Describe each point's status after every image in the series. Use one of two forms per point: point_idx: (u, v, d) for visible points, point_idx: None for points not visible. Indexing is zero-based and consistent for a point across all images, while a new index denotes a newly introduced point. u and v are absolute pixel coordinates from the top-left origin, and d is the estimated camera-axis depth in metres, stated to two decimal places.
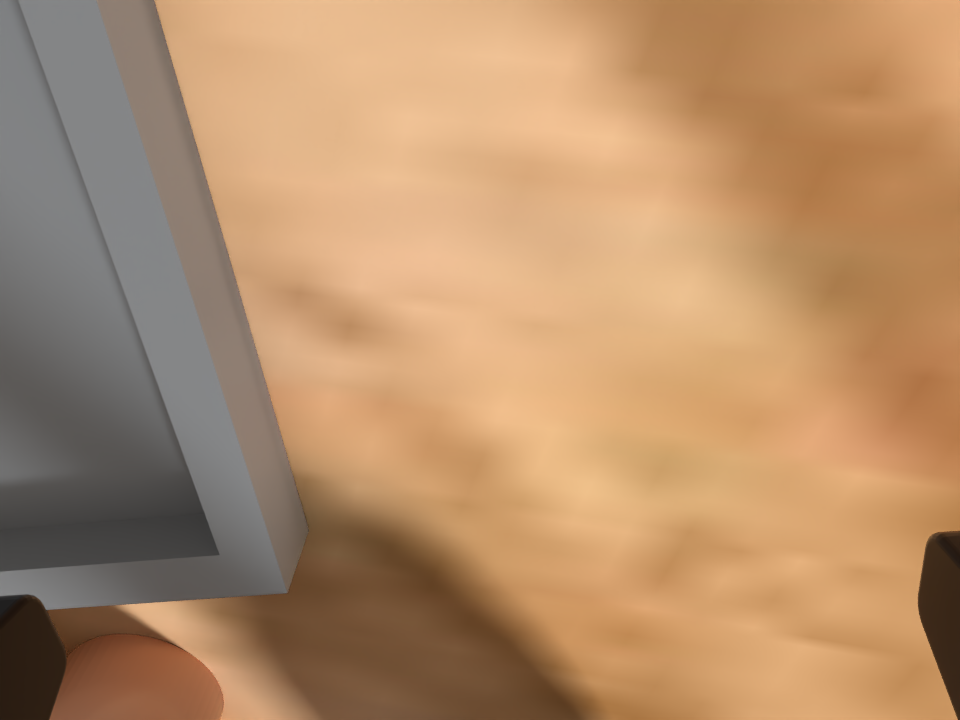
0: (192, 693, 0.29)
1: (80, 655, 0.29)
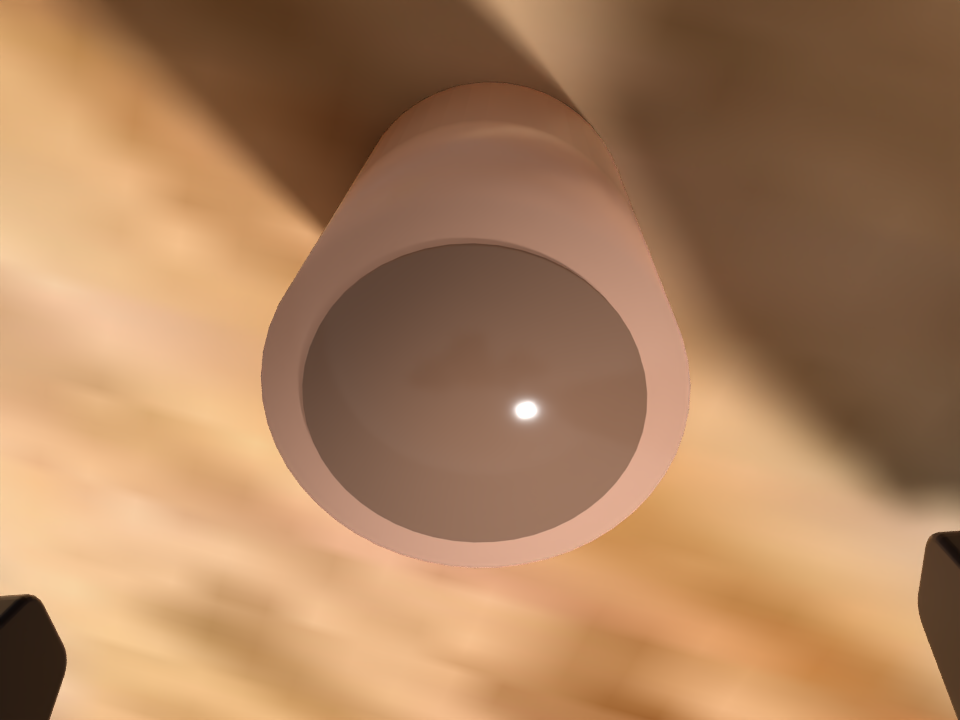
0: (615, 167, 0.17)
1: (419, 106, 0.17)
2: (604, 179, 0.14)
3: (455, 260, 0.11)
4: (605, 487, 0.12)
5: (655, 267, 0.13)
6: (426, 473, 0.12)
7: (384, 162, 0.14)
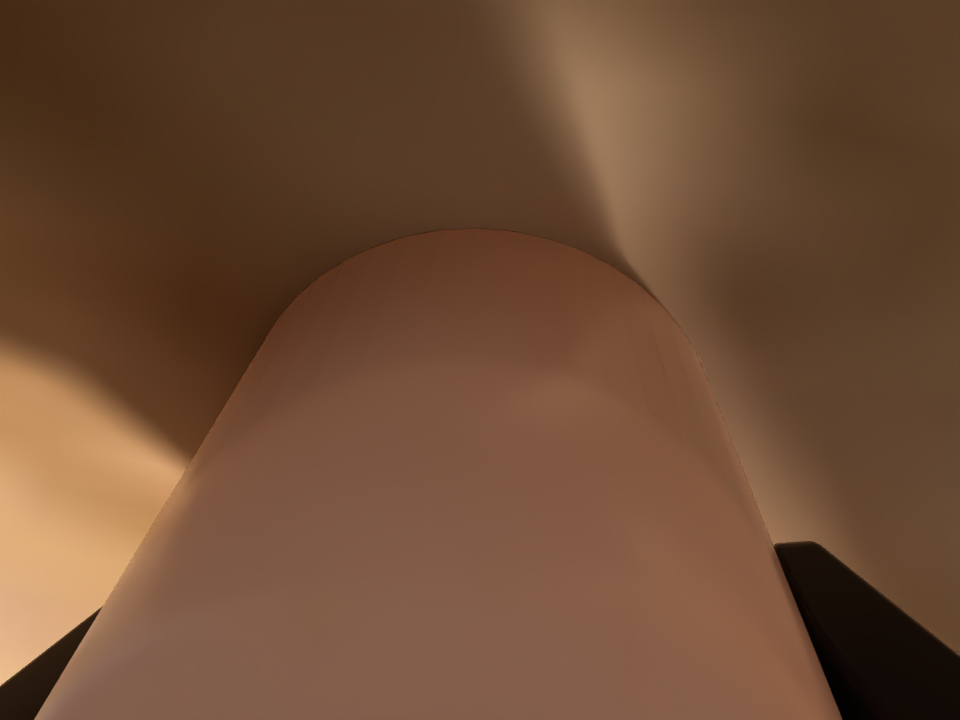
0: (714, 401, 0.09)
1: (338, 281, 0.09)
2: (740, 561, 0.06)
3: None
4: None
5: None
6: None
7: (197, 530, 0.05)
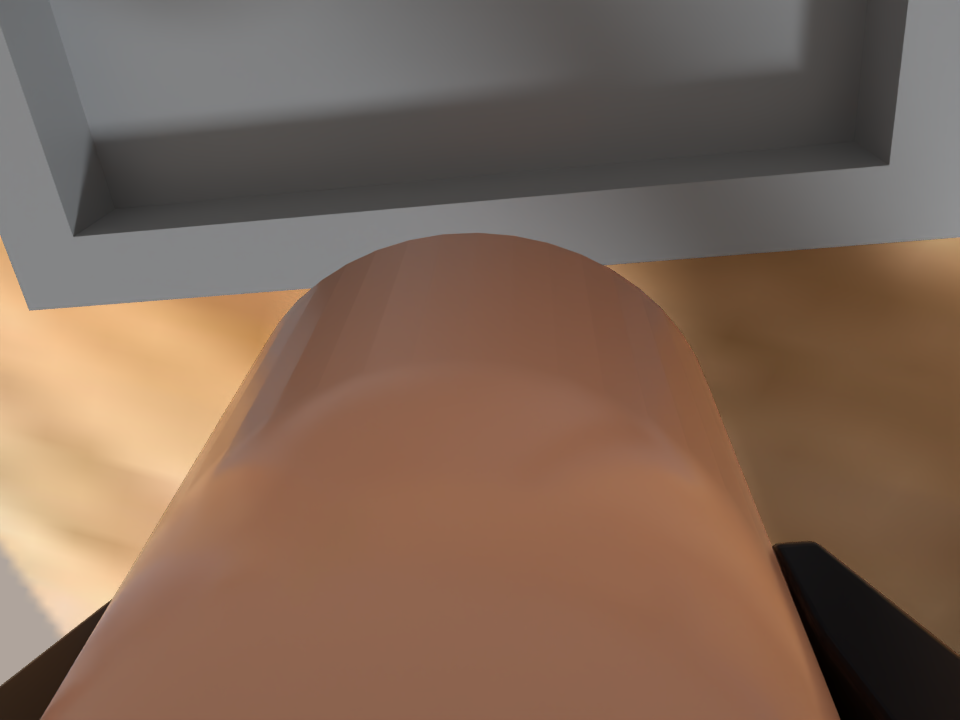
0: (714, 405, 0.09)
1: (339, 285, 0.09)
2: (741, 567, 0.06)
3: None
4: None
5: None
6: None
7: (199, 536, 0.05)
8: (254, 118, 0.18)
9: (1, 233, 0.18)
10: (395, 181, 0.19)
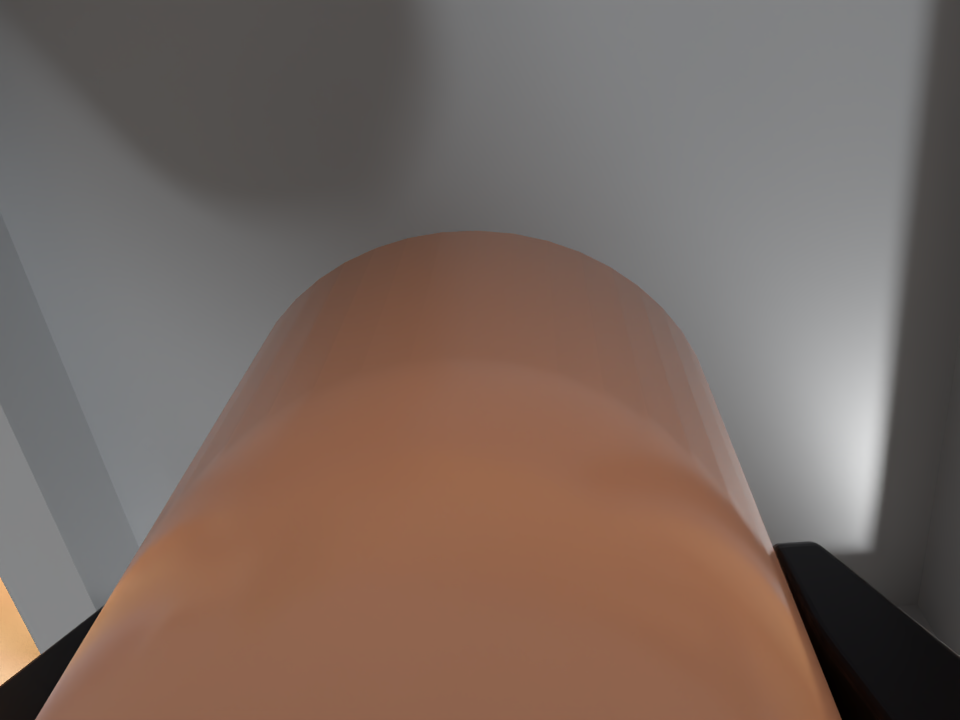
0: (714, 404, 0.09)
1: (338, 283, 0.09)
2: (742, 566, 0.06)
3: None
4: None
5: None
6: None
7: (196, 535, 0.05)
8: None
9: None
10: None
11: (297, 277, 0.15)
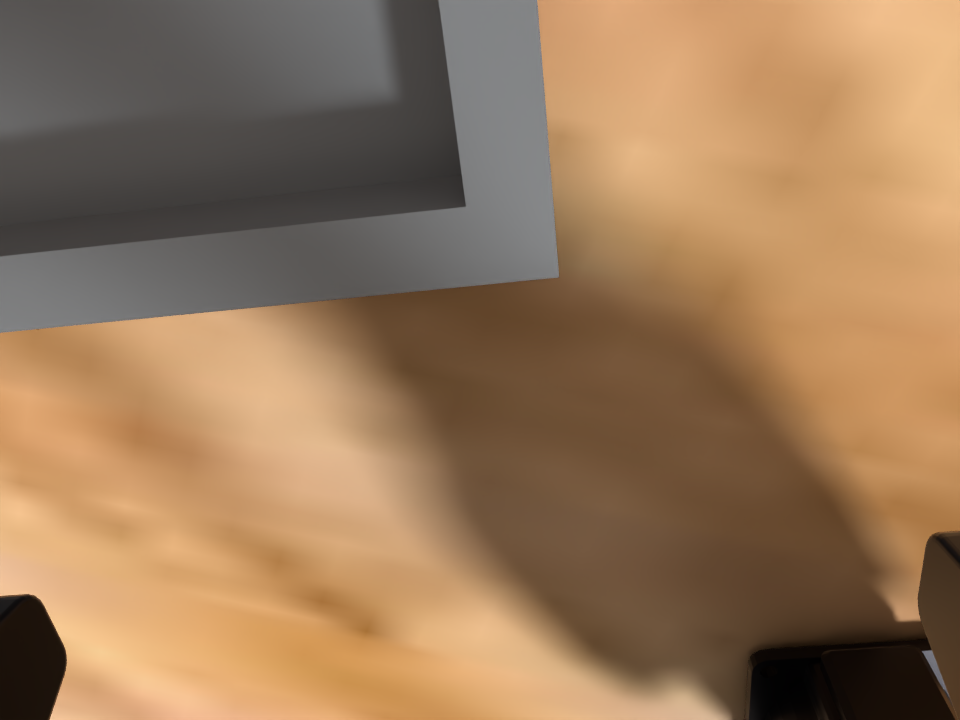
0: None
1: None
2: None
3: None
4: None
5: None
6: None
7: None
8: None
9: None
10: (5, 222, 0.18)
11: None
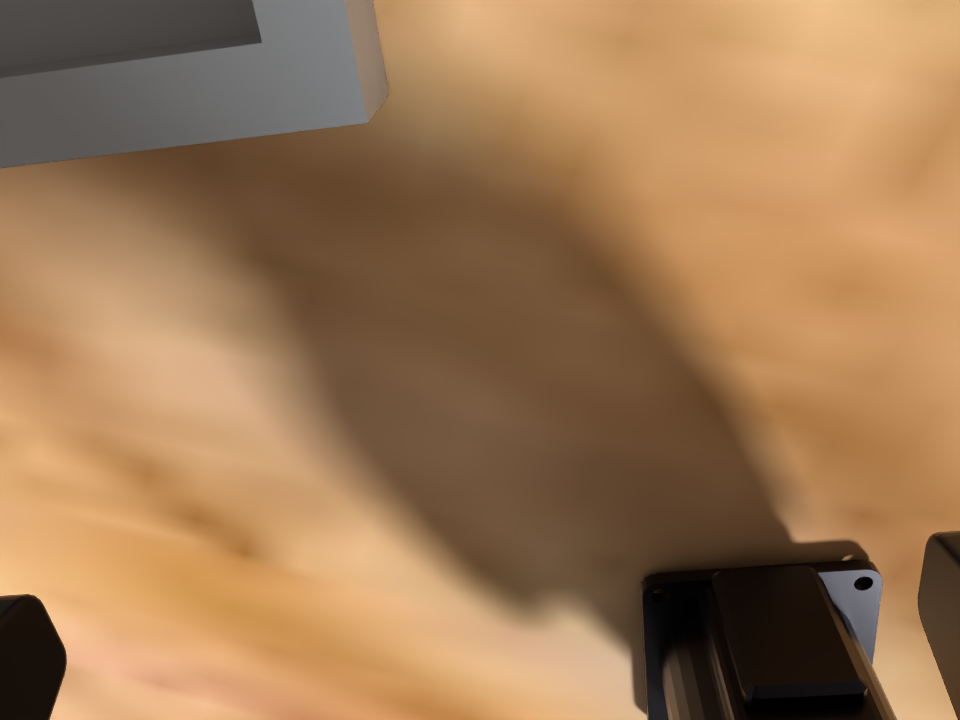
0: None
1: None
2: None
3: None
4: None
5: None
6: None
7: None
8: None
9: None
10: None
11: None
